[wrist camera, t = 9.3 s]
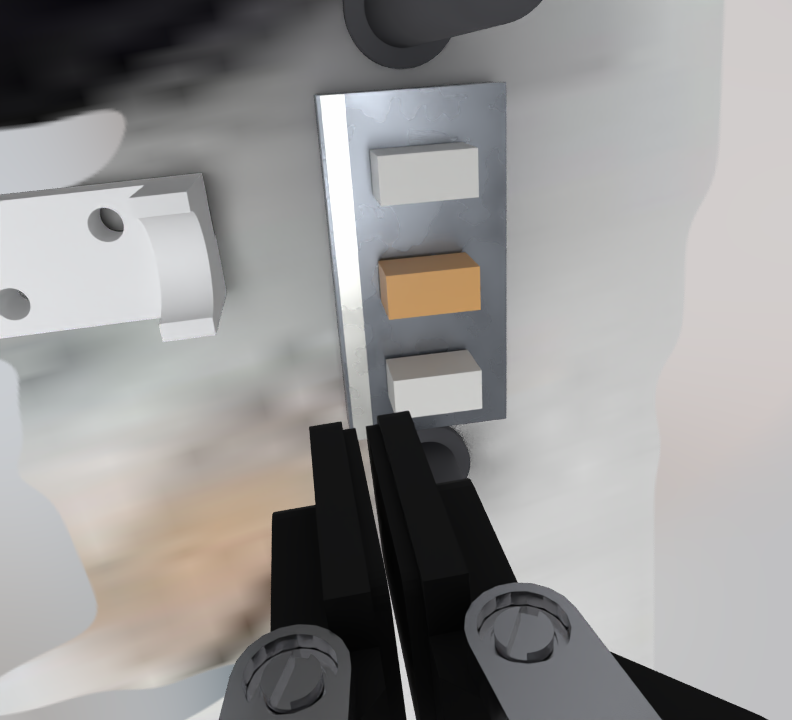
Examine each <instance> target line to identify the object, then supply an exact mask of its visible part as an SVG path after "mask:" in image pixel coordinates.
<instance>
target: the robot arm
mask: <svg viewBox="0 0 792 720" xmlns="http://www.w3.org/2000/svg"><path fill="white" fill-rule="evenodd" d="M309 431H310V443H311V455H312V467H313V479H314V491H315V503H316V505H312V506H306V507H301V508H295V509H289V510H284V511H278V512H273V514H272V561H271V632H270V633H268V634H265V635H263V636H262V637H260V638H259V639H258V640H256V641H255V642H254V643H252V644H251V645H250V646H248V647H247V649H246V650H245V651H244V652H243V653H242V655H241V656H240V657H239V658H238V660H237V661H236V663H235V665H234V668H233V670H232V672H231V675H230V677H229V682H228V685H227V689H226V693H225V697H224V701H223V705H222V709H221V713H220V717H219V720H406V712H405V705H404V698H403V690H402V683H401V675H400V668H399V660H398V653H397V646H396V638H395V631H394V623H393V616H392V608H391V602H390V595H391V600H392V605H393V610H394V614H395V619H396V624H397V629H398V634H399V639H400V643H401V648H402V653H403V658H404V663H405V667H406V672H407V677H408V682H409V687H410V692H411V696H412V701H413V706H414V711H415V716H416V720H767V719H765V718H764V717H762V716H760V715H757V714H755V713H753V712H750V711H748V710H746V709H744V708H741V707H739V706H737V705H734V704H732V703H729V702H727V701H725V700H722V699H720V698H718V697H715V696H713V695H711V694H708V693H706V692H704V691H701V690H699V689H696V688H694V687H692V686H690V685H687V684H685V683H682V682H680V681H678V680H675V679H673V678H671V677H668V676H666V675H664V674H661V673H659V672H657V671H654V670H652V669H650V668H647V667H645V666H643V665H640V664H638V663H636V662H633V661H631V660H629V659H626V658H624V657H622V656H619V655H617V654H615V653H612V652H610V651H609V650H608V649H607V647H606V646H605V645H604V644H603V642H602V641H601V640H600V638H599V637H598V636H597V634H596V633H595V632H594V630H593V629H592V628H591V627H590V625H589V624H588V623H587V621H586V620H585V619H584V617H583V616H582V615H581V613H580V612H579V611H578V610H577V608H576V607H575V606H574V605H573V604H572V603H571V602H570V601H569V600H568V599H567V598H566V597H565V596H563V595H561V594H559V593H557V592H556V591H554V590H552V589H550V588H547V587H544V586H540V585H536V584H533V583H518V582H517V580H516V578H515V576H514V574H513V571H512V569H511V567H510V565H509V562H508V560H507V558H506V556H505V554H504V551H503V549H502V547H501V545H500V543H499V540H498V538H497V536H496V534H495V532H494V529H493V527H492V525H491V523H490V521H489V518H488V516H487V514H486V512H485V510H484V507H483V505H482V503H481V501H480V498H479V496H478V494H477V492H476V490H475V487H474V485H473V483H472V482H471V480H470V479H469V478H465V479H460V480H454V481H448V482H443V483H437V484H436V482H435V480H434V477H433V474H432V471H431V469H430V466H429V463H428V461H427V458H426V455H425V452H424V450H423V447H422V444H421V442H420V439H419V436H418V433H417V431H416V428H415V425H414V422H413V420H412V417H411V414H410V412H409V411H402V412H396V413H390V414H384V415H378V416H377V424H375V425H369V426H366V435H367V442H368V450H369V457H370V464H371V472H372V479H373V487H374V494H375V501H376V509H377V516H378V523H379V531H380V538H381V545H382V553H383V558H382V553H381V548H380V544H379V539H378V534H377V529H376V524H375V519H374V515H373V510H372V505H371V500H370V495H369V490H368V486H367V481H366V476H365V471H364V466H363V461H362V457H361V452H360V447H359V442H358V437H357V432H356V428H351V429H345V430H343V428H342V422H335V423H329V424H323V425H317V426H311V427H309ZM383 559H384V563H383ZM384 565H385V568H384ZM385 571H386V573H385ZM386 576H387V578H386ZM387 581H388V583H387ZM388 586H389V589H388ZM389 590H390V595H389Z"/></svg>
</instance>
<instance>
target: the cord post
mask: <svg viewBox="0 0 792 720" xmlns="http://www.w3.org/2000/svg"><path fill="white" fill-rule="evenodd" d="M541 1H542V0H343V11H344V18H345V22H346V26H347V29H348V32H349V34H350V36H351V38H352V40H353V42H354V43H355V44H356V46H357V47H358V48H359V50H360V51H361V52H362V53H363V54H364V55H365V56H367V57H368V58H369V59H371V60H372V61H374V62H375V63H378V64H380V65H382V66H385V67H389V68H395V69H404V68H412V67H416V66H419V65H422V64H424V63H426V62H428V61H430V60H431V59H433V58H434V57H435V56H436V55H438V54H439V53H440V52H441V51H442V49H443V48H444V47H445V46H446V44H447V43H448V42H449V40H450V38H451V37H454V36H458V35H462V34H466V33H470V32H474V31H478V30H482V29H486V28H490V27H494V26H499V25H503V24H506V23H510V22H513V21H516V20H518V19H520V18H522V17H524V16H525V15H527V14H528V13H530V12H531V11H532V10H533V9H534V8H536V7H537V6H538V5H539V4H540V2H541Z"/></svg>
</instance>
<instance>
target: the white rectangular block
mask: <svg viewBox="0 0 792 720" xmlns="http://www.w3.org/2000/svg"><path fill="white" fill-rule="evenodd" d="M386 371H387V384H388V396H389V399H390V402H391V405H392V408H393V411H394V413H396V412H402V411H409V412H410V414H411V417H412V418H414V417H421V416H429V415H437V414H445V413H452V412H460V411H468V410H476V409H482V370H481V369H480V367H479V366H478V364H477V363H476V361H475V360H474V358H473V357H472V355H471V354H470V352H469V351H468V350H460V351H452V352H443V353H435V354H426V355H418V356H410V357H401V358H393V359H386Z"/></svg>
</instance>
